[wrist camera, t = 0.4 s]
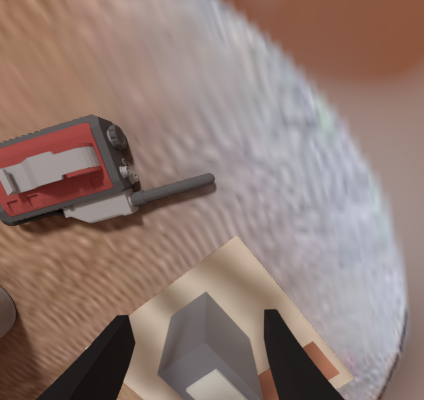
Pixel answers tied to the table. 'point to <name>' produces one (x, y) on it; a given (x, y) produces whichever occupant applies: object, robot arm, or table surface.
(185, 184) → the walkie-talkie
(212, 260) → the subfloor panel
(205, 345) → the block
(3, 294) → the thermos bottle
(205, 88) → the table surface
